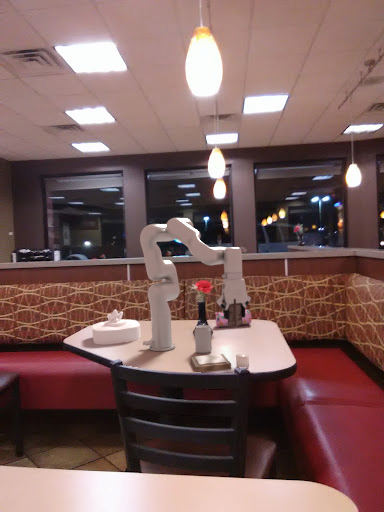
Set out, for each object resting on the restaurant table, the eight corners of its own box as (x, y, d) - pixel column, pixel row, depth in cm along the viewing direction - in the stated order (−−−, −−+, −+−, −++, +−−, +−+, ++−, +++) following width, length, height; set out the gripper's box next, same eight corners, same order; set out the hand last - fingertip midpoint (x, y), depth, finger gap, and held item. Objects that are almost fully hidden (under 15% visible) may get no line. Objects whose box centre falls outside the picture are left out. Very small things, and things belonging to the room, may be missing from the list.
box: (233, 323, 173) (232, 296, 173) (242, 324, 171) (241, 296, 170) (226, 326, 168) (226, 298, 168) (236, 327, 166) (235, 298, 165)
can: (206, 354, 178) (205, 328, 178) (192, 353, 182) (191, 327, 182) (214, 350, 185) (213, 324, 184) (201, 348, 189) (199, 323, 188)
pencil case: (217, 329, 230) (216, 313, 229) (213, 325, 239) (213, 310, 238) (253, 325, 233) (252, 310, 233) (248, 322, 242) (247, 308, 242)
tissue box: (92, 336, 228) (90, 308, 227) (135, 331, 235) (134, 304, 234) (94, 346, 204) (92, 315, 203) (143, 340, 211) (141, 310, 210)
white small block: (238, 369, 157) (237, 358, 156) (235, 365, 161) (234, 354, 161) (250, 368, 157) (250, 356, 157) (247, 364, 162) (246, 353, 162)
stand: (196, 372, 155) (196, 365, 155) (191, 361, 169) (190, 355, 169) (231, 368, 158) (231, 362, 158) (223, 358, 171) (222, 352, 171)
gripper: (219, 278, 162) (220, 321, 163) (255, 275, 169) (256, 317, 170) (211, 277, 169) (212, 318, 170) (246, 274, 176) (247, 314, 176)
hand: (234, 317), depth 170 cm, fingers closed on box, 7 cm apart
